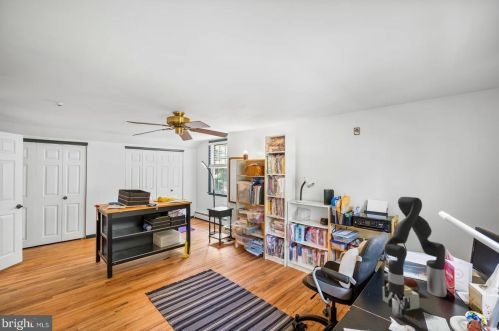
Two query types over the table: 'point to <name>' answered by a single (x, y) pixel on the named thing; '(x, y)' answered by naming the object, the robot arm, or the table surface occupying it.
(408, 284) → the figurine
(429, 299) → the table surface
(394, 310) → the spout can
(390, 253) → the robot arm
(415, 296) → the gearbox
